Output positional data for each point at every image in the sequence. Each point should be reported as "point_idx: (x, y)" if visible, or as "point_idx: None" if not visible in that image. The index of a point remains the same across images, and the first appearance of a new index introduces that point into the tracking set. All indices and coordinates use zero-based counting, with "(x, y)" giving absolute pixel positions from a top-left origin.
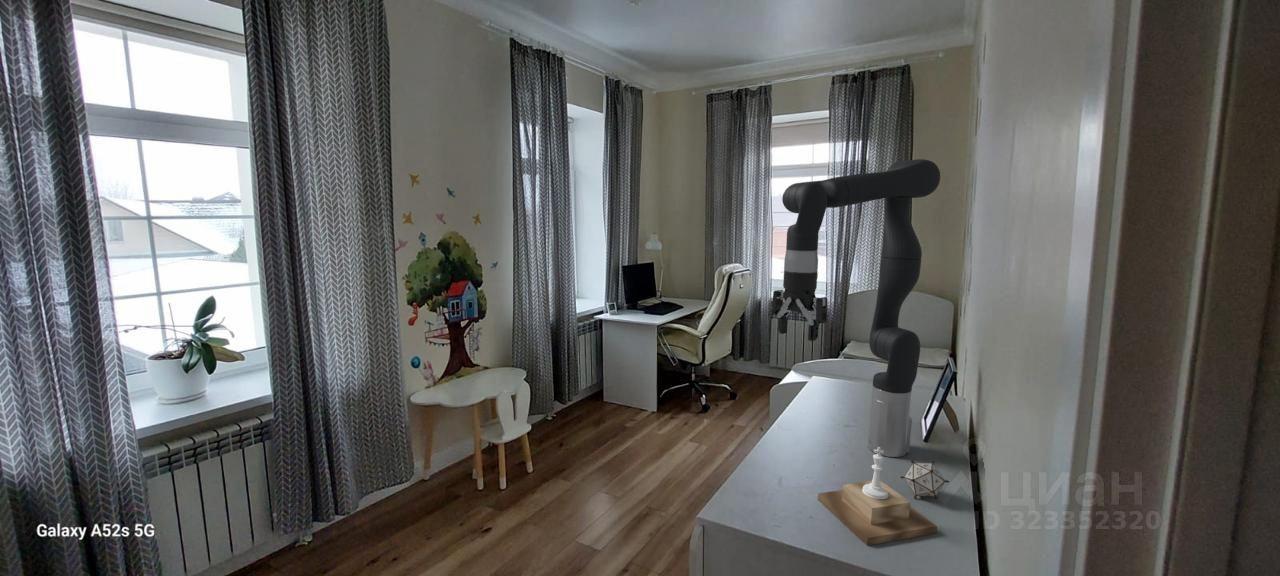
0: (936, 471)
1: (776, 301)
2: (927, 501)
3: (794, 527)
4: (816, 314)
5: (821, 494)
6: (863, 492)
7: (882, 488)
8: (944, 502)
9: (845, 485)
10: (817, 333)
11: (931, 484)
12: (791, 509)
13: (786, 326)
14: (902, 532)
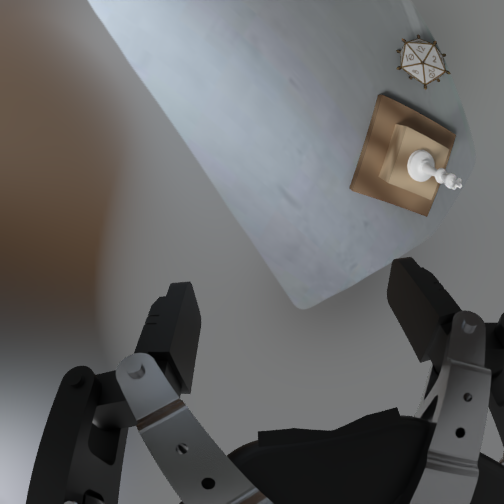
0: (440, 55)
1: (117, 497)
2: None
3: (366, 253)
4: (491, 407)
5: (356, 189)
6: (413, 178)
7: (429, 161)
8: None
9: (391, 182)
10: (439, 289)
11: (439, 76)
12: (343, 232)
13: (184, 313)
14: None
